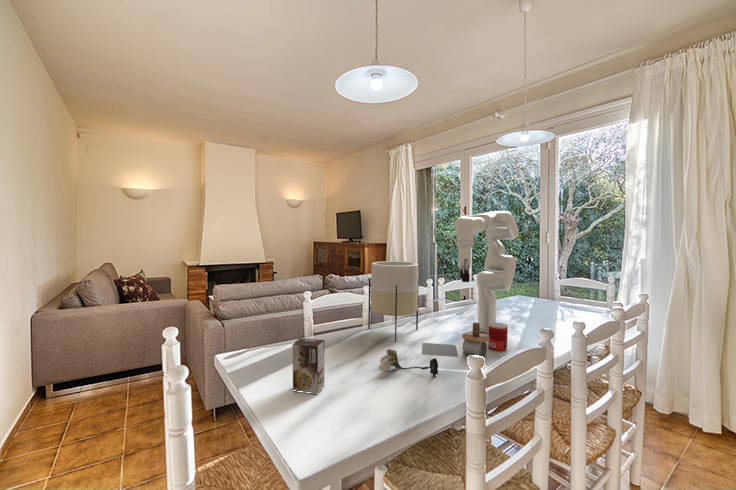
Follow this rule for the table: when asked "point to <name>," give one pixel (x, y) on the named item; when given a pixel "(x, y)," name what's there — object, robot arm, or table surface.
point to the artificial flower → (393, 361)
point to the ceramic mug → (474, 348)
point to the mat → (439, 349)
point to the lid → (476, 335)
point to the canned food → (498, 337)
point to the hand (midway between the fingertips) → (464, 280)
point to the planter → (394, 289)
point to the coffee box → (308, 365)
